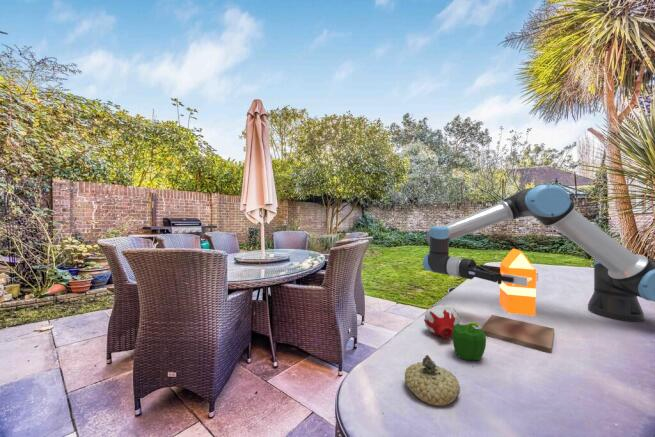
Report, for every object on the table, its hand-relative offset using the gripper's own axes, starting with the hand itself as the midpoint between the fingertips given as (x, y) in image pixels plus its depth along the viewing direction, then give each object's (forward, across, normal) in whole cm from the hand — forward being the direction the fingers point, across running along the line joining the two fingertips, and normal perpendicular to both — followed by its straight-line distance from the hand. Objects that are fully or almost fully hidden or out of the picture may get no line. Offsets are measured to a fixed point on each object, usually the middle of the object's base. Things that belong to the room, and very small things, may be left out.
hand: (532, 279), depth 84 cm
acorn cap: (-5, +49, -20) cm, 53 cm away
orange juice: (-4, 0, -11) cm, 12 cm away
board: (-4, 0, -19) cm, 19 cm away
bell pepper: (-7, +28, -19) cm, 35 cm away
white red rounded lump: (-19, +21, -19) cm, 34 cm away
